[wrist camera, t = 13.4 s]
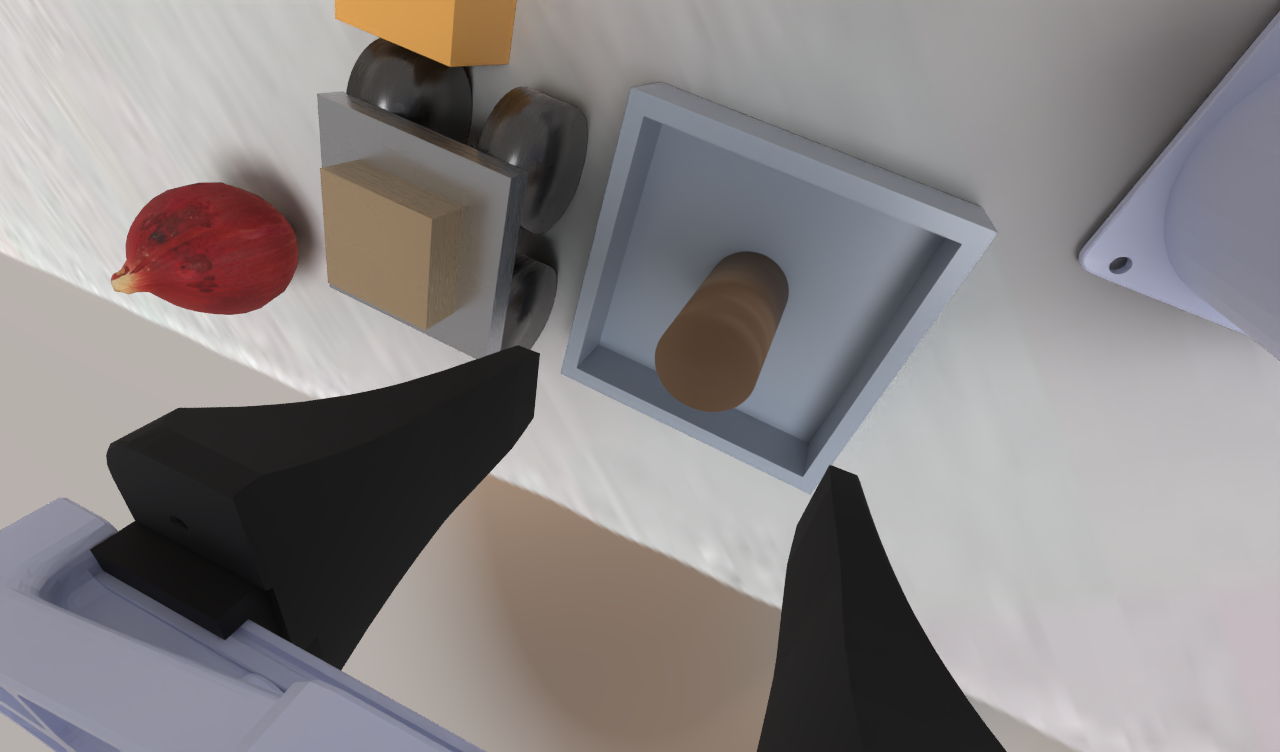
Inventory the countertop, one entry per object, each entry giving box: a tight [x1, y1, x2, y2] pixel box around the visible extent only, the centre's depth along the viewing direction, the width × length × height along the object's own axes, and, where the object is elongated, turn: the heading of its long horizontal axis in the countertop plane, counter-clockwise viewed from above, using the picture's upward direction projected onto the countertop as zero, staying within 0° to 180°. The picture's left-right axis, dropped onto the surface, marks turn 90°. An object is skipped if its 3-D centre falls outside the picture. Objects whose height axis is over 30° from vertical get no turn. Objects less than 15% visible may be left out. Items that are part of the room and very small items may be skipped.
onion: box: [111, 183, 298, 315], centre depth 25 cm, size 6×6×8 cm
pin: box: [655, 251, 789, 412], centre depth 18 cm, size 3×3×6 cm
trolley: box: [317, 38, 587, 359], centre depth 20 cm, size 7×10×7 cm
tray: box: [561, 82, 998, 494], centre depth 20 cm, size 11×11×3 cm
